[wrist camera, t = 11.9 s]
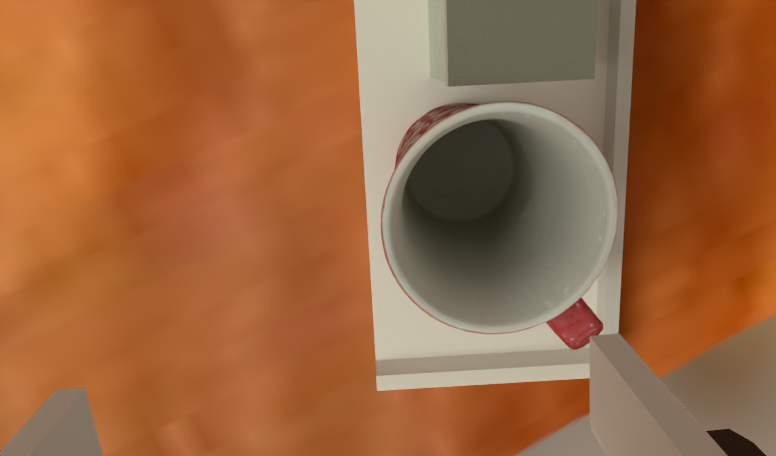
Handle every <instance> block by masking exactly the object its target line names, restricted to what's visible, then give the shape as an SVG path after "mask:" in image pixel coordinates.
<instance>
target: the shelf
mask: <svg viewBox="0 0 776 456" xmlns="http://www.w3.org/2000/svg"><path fill="white" fill-rule="evenodd" d="M354 8H355V24H356V41H357V57H358V74H359V90H360V107H361V123H362V140H363V157H364V173H365V190H366V206H367V223H368V239H369V256H370V272H371V289H372V305H373V322H374V339H375V355H376V381H377V391H382V390H399V389H415V388H432V387H449V386H465V385H482V384H499V383H516V382H532V381H549V380H566V379H582V378H590V343H588V344H587V345H586V346H584V347H582V348H580V349H576V350H572V349H570V348H569V347H568V346H567V345H566V344H565V343H564V342H563V341H562V340H561V339H560V338H559V337H558V336H557V335H556V334H555V333H554V331H553V330H552V329H551V328H550V327H549V325H548V324H547V323H546V322H545V323H543V324H540V325H538V326H535V327H532V328H530V329H526V330H522V331H518V332H513V333H506V334H479V333H472V332H466V331H463V330H460V329H457V328H454V327H451V326H448V325H446V324H444V323H441V322H440V321H438V320H436V319H434V318H433V317H431V316H429V315H428V314H427V313H425V312H424V311H422V310H421V309H420V308H419V307H418V306H417V305H416V304H414V303H413V302H412V301H411V300H410V298H409V297H408V296H407V295H406V294H405V293H404V292H403V290H402V289H401V287H400V286H399V285H398V283H397V281H396V279H395V278H394V276H393V274H392V272H391V270H390V268H389V265H388V263H387V260H386V257H385V254H384V249H383V245H382V238H381V209H382V204H383V199H384V195H385V192H386V188H387V186H388V183H389V181H390V179H391V176H392V174H393V172H394V169H395V162H396V155H397V151H398V148H399V145H400V143H401V141H402V138H403V137H404V135H405V133H406V132H407V130H408V129H409V128H410V126H411V125H412V124H413V123H414V122H415V121H416V120H417V119H419V118H420V117H421V116H423V115H424V114H426V113H427V112H429V111H430V110H433V109H435V108H437V107H440V106H444V105H448V104H455V103H469V104H473V103H475V104H484V103H490V102H499V101H518V102H527V103H532V104H536V105H539V106H543V107H546V108H549V109H551V110H553V111H555V112H557V113H559V114H561V115H563V116H565V117H566V118H568V119H569V120H571V121H572V122H574V123H575V124H577V125H578V126H579V127H581V128H582V129H583V130H584V131H585V132H586V133H587V134H588V135H589V136H590V137H591V138H592V139H593V140H594V142H595V143H596V144H597V146H598V147H599V148H600V150H601V151H602V153H603V154H604V156H605V158H606V159H607V161H608V164H609V166H610V169H611V171H612V174H613V176H614V180H615V184H616V188H617V194H618V204H619V216H618V228H617V233H616V238H615V242H614V245H613V249H612V252H611V254H610V256H609V258H608V261H607V263H606V265H605V266H604V268H603V270H602V272H601V273H600V275H599V276H598V278H597V279H596V280H595V282H594V283H593V285H592V286H591V287H590V288H589V290H588V291H587V292H586V293H585V294H584V295H583V296H582V299H583V300H584V301H585V303H586V304H587V305H588V306H589V307H590V309H591V310H592V311H593V312H594V314H595V315H596V316H597V317H598V319H599V320H600V321H602V323H603V330H602V331H601V333H600V334H599V335H606V334H616V333H618V331H619V312H620V294H621V275H622V256H623V238H624V219H625V200H626V182H627V163H628V145H629V126H630V107H631V89H632V70H633V51H634V33H635V14H636V0H598V3H597V29H596V56H595V79H585V80H566V81H547V82H528V83H509V84H490V85H471V86H452V87H448V86H446V82H443V81H440V80H437V79H434V78H431V77H430V57H429V25H428V0H354Z"/></svg>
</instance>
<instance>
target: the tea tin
mask: <svg viewBox="0 0 776 456" xmlns="http://www.w3.org/2000/svg"><path fill="white" fill-rule="evenodd" d="M597 3H598V0H428V25H429V57H430V77H431V78H434V79H437V80H440V81H443V82H446V86H448V87H452V86H471V85H490V84H509V83H528V82H547V81H566V80H585V79H595V56H596V29H597Z"/></svg>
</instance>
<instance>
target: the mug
mask: <svg viewBox="0 0 776 456" xmlns="http://www.w3.org/2000/svg"><path fill="white" fill-rule="evenodd" d="M618 216H619V204H618V194H617V188H616V184H615V180H614V176H613V174H612V171H611V169H610V166H609V164H608V161H607V159H606V158H605V156H604V154H603V153H602V151H601V150H600V148H599V147H598V146H597V144H596V143H595V142H594V140H593V139H592V138H591V137H590V136H589V135H588V134H587V133H586V132H585V131H584V130H583V129H582V128H581V127H579V126H578V125H577V124H575V123H574V122H572V121H571V120H569V119H568V118H566V117H565V116H563V115H561V114H559V113H557V112H555V111H553V110H551V109H549V108H546V107H543V106H539V105H536V104H532V103H527V102H518V101H499V102H490V103H484V104H475V103H473V104H469V103H455V104H448V105H444V106H440V107H437V108H435V109H433V110H430V111H429V112H427V113H426V114H424V115H423V116H421V117H420V118H419V119H417V120H416V121H415V122H414V123H413V124H412V125H411V126H410V128H409V129H408V130H407V132H406V133H405V135H404V137H403V138H402V141H401V143H400V145H399V148H398V151H397V155H396V162H395V169H394V172H393V174H392V176H391V179H390V181H389V183H388V186H387V188H386V192H385V195H384V199H383V204H382V209H381V238H382V245H383V249H384V254H385V257H386V260H387V263H388V265H389V268H390V270H391V272H392V274H393V276H394V278H395V279H396V281H397V283H398V285H399V286H400V287H401V289H402V290H403V292H404V293H405V294H406V295H407V296H408V297H409V298H410V300H411V301H412V302H413V303H414V304H416V305H417V306H418V307H419V308H420V309H421V310H422V311H424V312H425V313H427V314H428V315H429V316H431V317H433V318H434V319H436V320H438V321H440V322H441V323H444V324H446V325H448V326H451V327H454V328H457V329H460V330H463V331H466V332H472V333H479V334H506V333H513V332H518V331H522V330H526V329H530V328H532V327H535V326H538V325H540V324H543V323H545V322H546V323H547V324H548V325H549V327H550V328H551V329H552V330H553V331H554V333H555V334H556V335H557V336H558V337H559V338H560V339H561V340H562V341H563V342H564V343H565V344H566V345H567V346H568V347H569V348H570V349H572V350H576V349H580V348H582V347H584V346H586V345H587V344H588V343H590V336H596V335H599V334H600V333H601V331H602V330H603V323H602V321H600V320H599V319H598V317H597V316H596V315H595V314H594V312H593V311H592V310H591V309H590V307H589V306H588V305H587V304H586V303H585V301H584V300H583V299H582V296H583V295H584V294H585V293H586V292H587V291H588V290H589V288H590V287H591V286H592V285H593V283H594V282H595V280H596V279H597V278H598V276H599V275H600V273H601V272H602V270H603V268H604V266H605V265H606V263H607V261H608V258H609V256H610V254H611V252H612V249H613V245H614V242H615V238H616V233H617V228H618Z"/></svg>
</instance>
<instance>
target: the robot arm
mask: <svg viewBox="0 0 776 456" xmlns="http://www.w3.org/2000/svg"><path fill="white" fill-rule="evenodd" d="M590 429H591V430H592V432H593V434H594V436H595V437H596V439H597V441H598V442H599V444H600V446H601V448H602V449H603V451H604V453H605V454H606V456H766V455H765V454H764V453H763V452H762V451H761V450H760V449H759V448H758V447H757V446H756V445H755V444H754V443H753V442H751V441H749V440H748V439H746V438H744V437H742V436H741V435H739V434H737V433H735V432H734V431H732V430H730V429H724V430H714V431H705V430H704V428H703V427H701V425H700V424H699V423H698V422H697V421H696V419H695V418H694V417H693V416H692V415H691V414H690V413H689V412H688V410H686V408H685V407H684V406H683V405H682V404H681V403H680V402H679V400H678V399H677V398H676V397H675V396H674V395H673V394H672V392H671V391H670V390H669V389H668V388H667V387H666V386H665V384H664V383H663V382H662V381H661V380H660V379H659V378H658V377H657V375H656V374H655V373H654V372H653V371H652V370H651V369H650V368H649V366H648V365H647V364H646V363H645V362H644V361H643V360H642V359H641V357H640V356H639V355H638V354H637V353H636V352H635V351H634V350H633V348H632V347H631V346H630V345H629V344H628V343H627V342H626V341H625V339H624V338H623V337H622V336H621V335H620V334H619V333H616V334H606V335H596V336H590ZM0 456H103V454H102V451H101V447H100V443H99V439H98V435H97V431H96V428H95V424H94V420H93V416H92V412H91V408H90V405H89V401H88V397H87V393H86V389H85V387H84V388H74V389H64V390H55V391H54V392H53V394H52V395H51V396H50V397H49V398H48V399H47V400H46V401H45V402H44V404H43V405H42V406H41V407H40V408H39V409H38V410H37V411H36V412H35V414H34V415H33V416H32V417H31V418H30V419H29V420H28V421H27V423H26V424H25V425H24V426H23V427H22V428H21V429H20V430H19V431H18V433H17V434H16V435H15V436H14V437H13V438H12V439H11V440H10V441H9V443H8V444H7V445H6V446H5V447H4V448H3V449H2V450H1V451H0Z"/></svg>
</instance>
